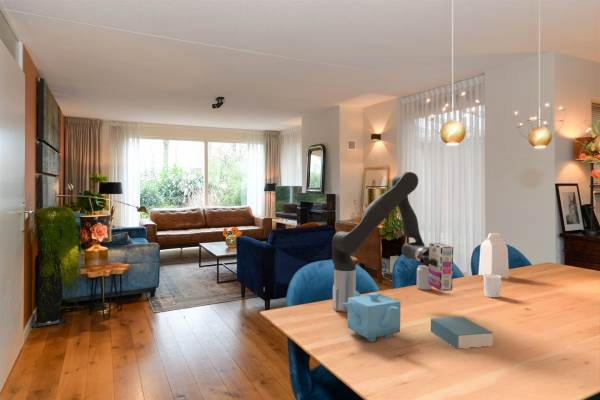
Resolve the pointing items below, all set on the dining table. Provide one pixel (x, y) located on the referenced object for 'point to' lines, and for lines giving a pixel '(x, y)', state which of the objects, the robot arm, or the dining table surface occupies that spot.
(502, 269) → the milk
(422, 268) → the can
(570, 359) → the dining table surface
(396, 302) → the teakettle
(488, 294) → the white cup
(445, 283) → the candy bar box
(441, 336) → the teal rectangular box
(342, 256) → the robot arm
